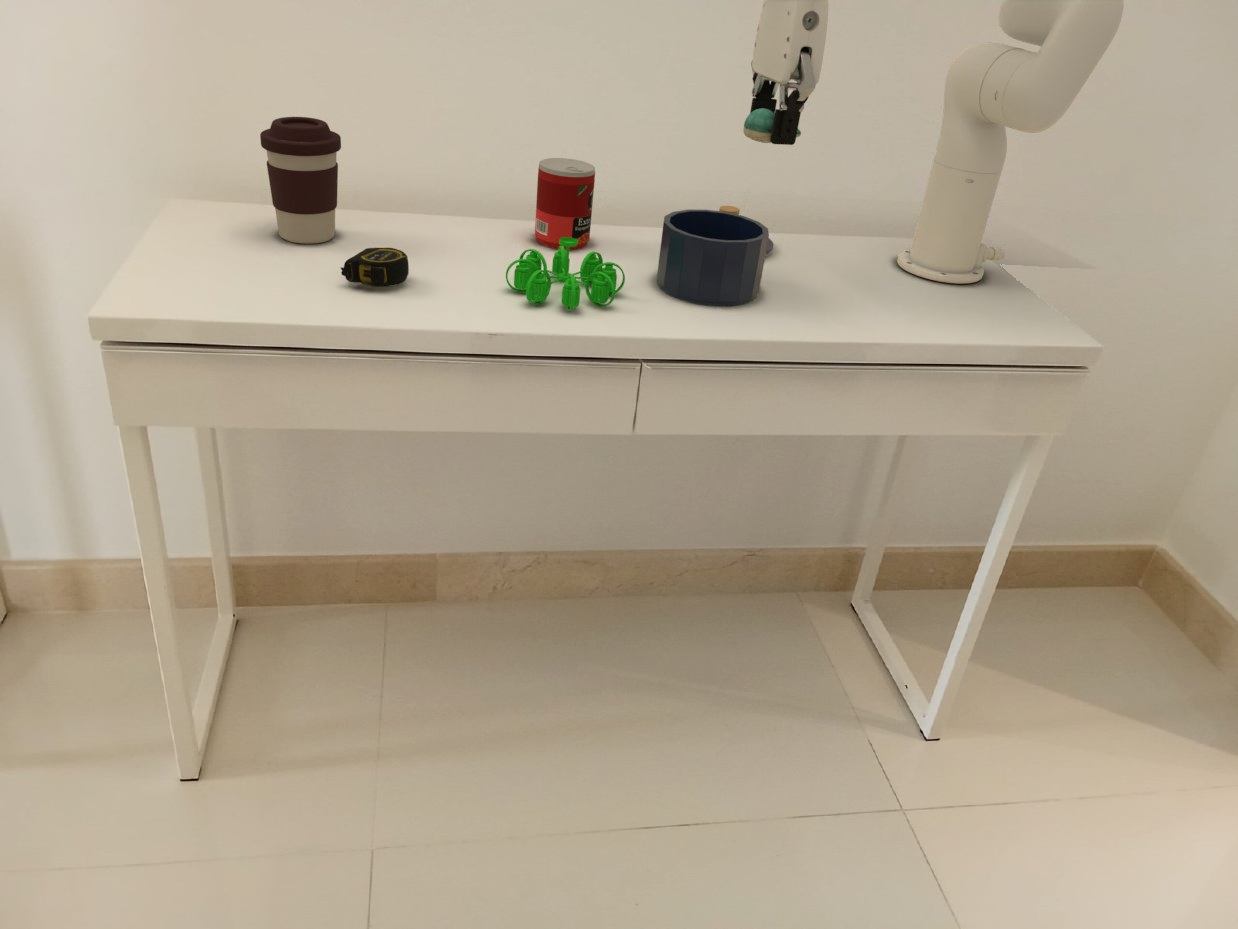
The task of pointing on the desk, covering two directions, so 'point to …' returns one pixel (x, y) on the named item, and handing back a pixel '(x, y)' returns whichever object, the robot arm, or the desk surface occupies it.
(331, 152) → the coffee cup
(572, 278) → the chandelier
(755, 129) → the whale figurine
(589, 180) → the canned food
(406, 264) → the tape measure
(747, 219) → the tin
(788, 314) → the desk surface
